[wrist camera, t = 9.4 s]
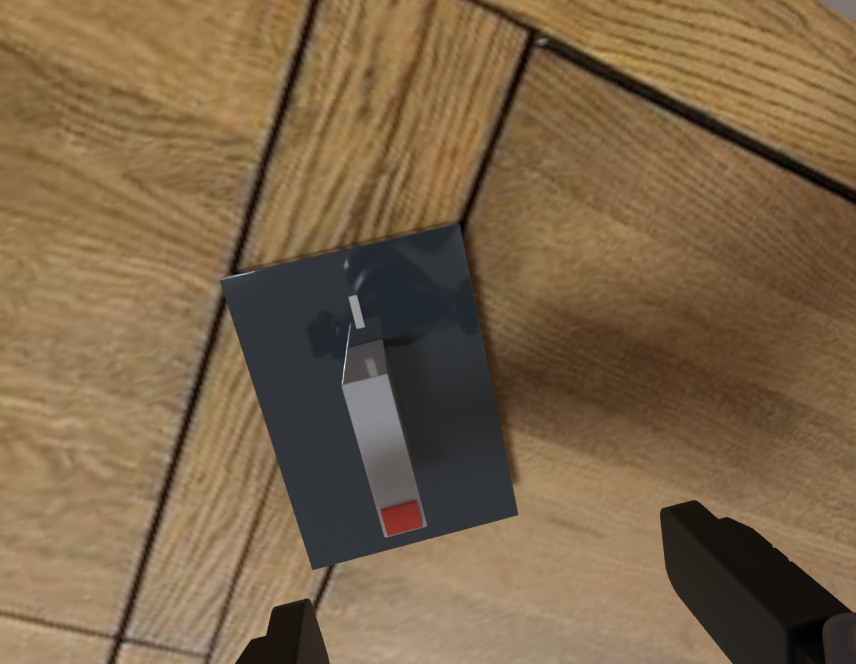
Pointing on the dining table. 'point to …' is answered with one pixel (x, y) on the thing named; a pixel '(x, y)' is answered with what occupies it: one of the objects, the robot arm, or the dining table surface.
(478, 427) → the lever base
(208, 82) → the dining table surface
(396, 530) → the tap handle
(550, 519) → the dining table surface
